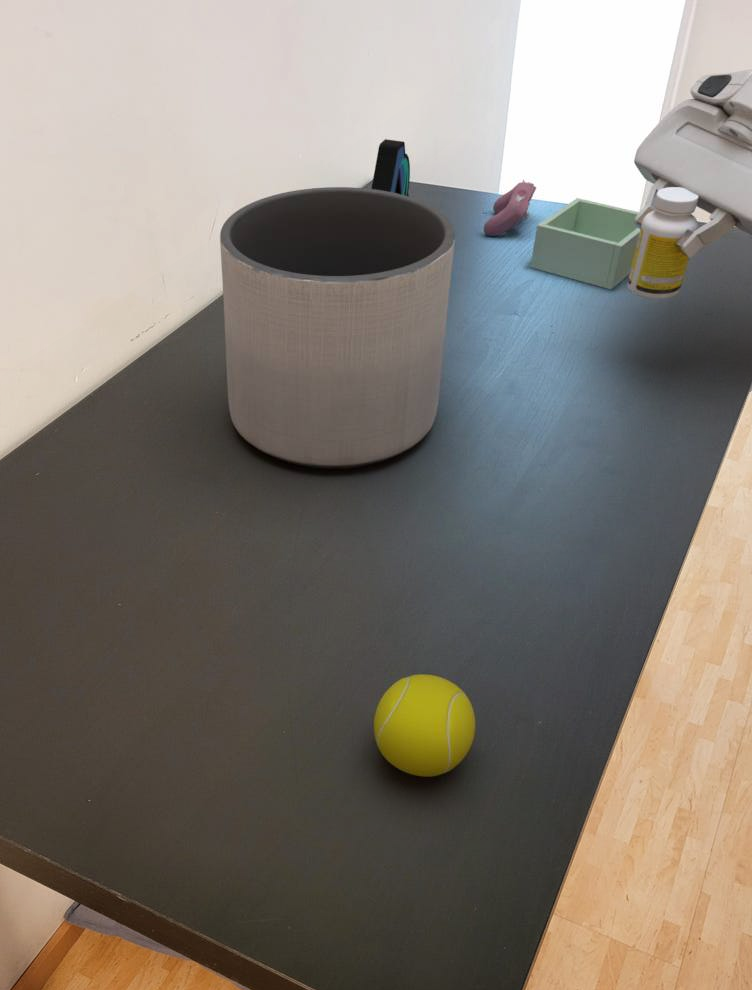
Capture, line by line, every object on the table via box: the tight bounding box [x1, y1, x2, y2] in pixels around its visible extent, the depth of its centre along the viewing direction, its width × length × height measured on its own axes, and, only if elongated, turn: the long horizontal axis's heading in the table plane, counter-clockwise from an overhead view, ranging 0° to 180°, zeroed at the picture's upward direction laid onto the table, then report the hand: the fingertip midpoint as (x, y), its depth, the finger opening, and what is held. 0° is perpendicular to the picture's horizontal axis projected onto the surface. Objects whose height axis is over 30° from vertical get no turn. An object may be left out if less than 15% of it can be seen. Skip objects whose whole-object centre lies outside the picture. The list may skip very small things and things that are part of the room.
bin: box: [529, 197, 640, 290], centre depth 124 cm, size 12×12×6 cm
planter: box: [219, 186, 456, 469], centre depth 93 cm, size 22×22×20 cm
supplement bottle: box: [626, 187, 699, 300], centre depth 96 cm, size 5×5×10 cm
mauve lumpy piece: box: [483, 179, 537, 237], centre depth 134 cm, size 10×5×7 cm, turn 161°
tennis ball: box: [373, 673, 476, 778], centre depth 66 cm, size 7×7×7 cm
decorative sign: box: [370, 138, 411, 197], centre depth 123 cm, size 19×2×15 cm, turn 155°
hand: (660, 239), depth 96 cm, fingers closed on supplement bottle, 5 cm apart
